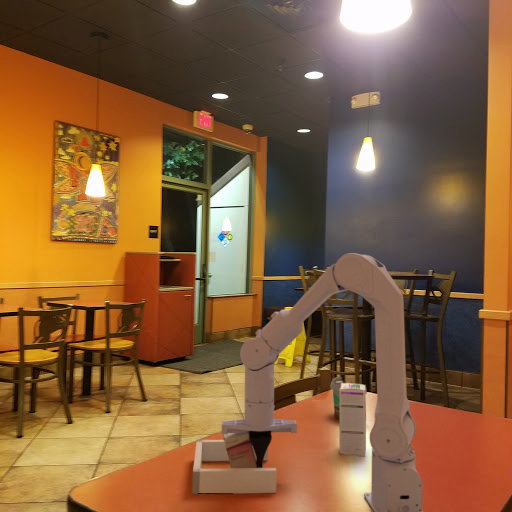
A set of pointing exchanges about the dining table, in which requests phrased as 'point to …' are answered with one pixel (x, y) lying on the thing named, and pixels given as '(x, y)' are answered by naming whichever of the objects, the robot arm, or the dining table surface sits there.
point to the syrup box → (352, 419)
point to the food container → (338, 394)
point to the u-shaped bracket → (229, 472)
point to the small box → (239, 450)
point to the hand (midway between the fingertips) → (258, 470)
